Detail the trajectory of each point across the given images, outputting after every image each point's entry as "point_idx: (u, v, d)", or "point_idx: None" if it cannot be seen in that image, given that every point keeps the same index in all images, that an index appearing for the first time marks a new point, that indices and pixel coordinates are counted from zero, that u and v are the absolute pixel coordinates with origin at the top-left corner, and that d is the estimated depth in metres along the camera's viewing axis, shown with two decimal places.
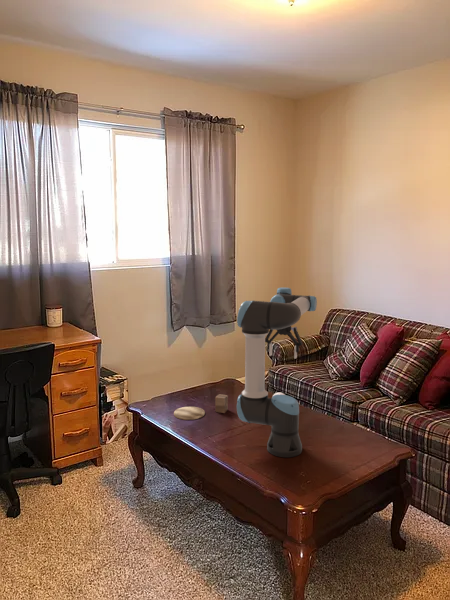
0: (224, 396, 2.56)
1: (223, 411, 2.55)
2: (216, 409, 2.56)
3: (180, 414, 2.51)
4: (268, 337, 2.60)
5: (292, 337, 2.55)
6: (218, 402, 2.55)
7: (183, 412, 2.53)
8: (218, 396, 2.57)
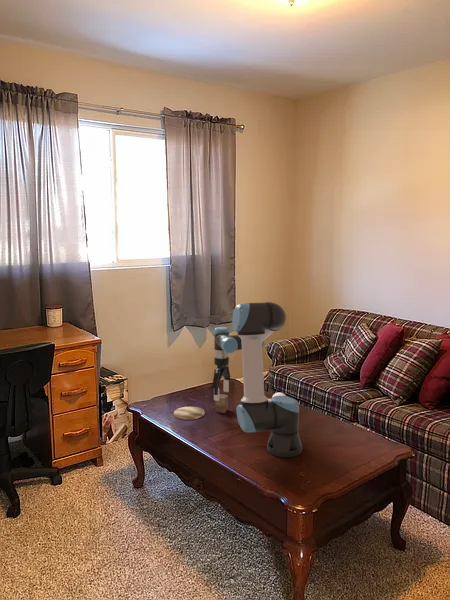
0: (224, 396, 2.56)
1: (223, 411, 2.55)
2: (216, 409, 2.56)
3: (180, 414, 2.51)
4: None
5: None
6: (218, 402, 2.55)
7: (183, 412, 2.53)
8: None
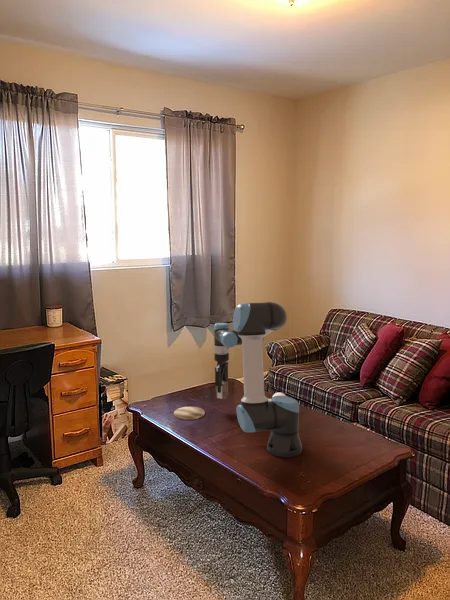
0: (224, 382, 2.55)
1: (223, 397, 2.53)
2: (216, 395, 2.55)
3: (180, 414, 2.51)
4: None
5: None
6: None
7: (183, 412, 2.53)
8: None
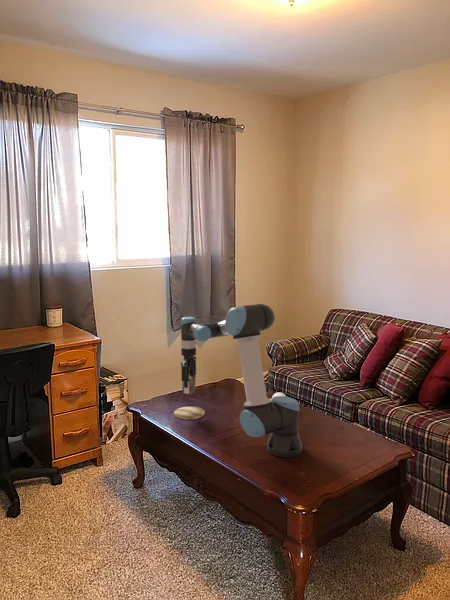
0: (191, 377, 2.50)
1: (190, 392, 2.49)
2: (183, 390, 2.50)
3: (180, 414, 2.51)
4: None
5: None
6: None
7: (183, 412, 2.53)
8: None
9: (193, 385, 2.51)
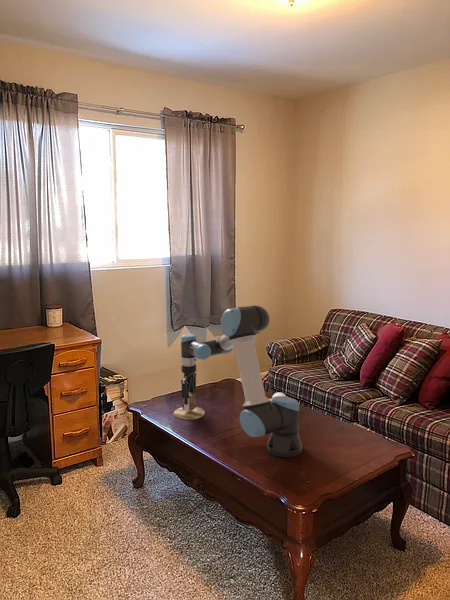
0: (191, 394, 2.52)
1: (190, 409, 2.50)
2: (183, 407, 2.52)
3: (180, 414, 2.51)
4: None
5: None
6: None
7: (183, 412, 2.53)
8: None
9: (193, 402, 2.52)
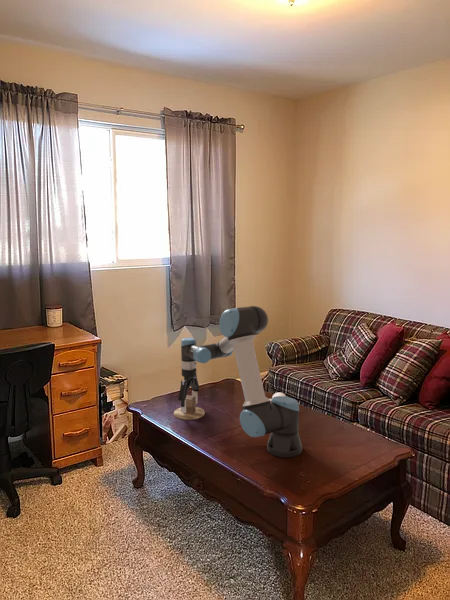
0: (191, 397, 2.52)
1: (190, 412, 2.51)
2: None
3: (180, 414, 2.51)
4: None
5: None
6: None
7: None
8: None
9: (193, 405, 2.52)
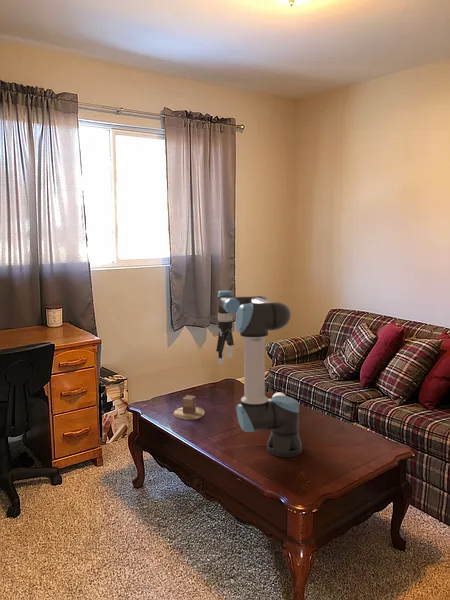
0: (191, 397, 2.52)
1: (190, 412, 2.51)
2: (183, 410, 2.52)
3: (180, 414, 2.51)
4: None
5: None
6: (185, 404, 2.51)
7: None
8: (185, 397, 2.52)
9: (193, 405, 2.52)
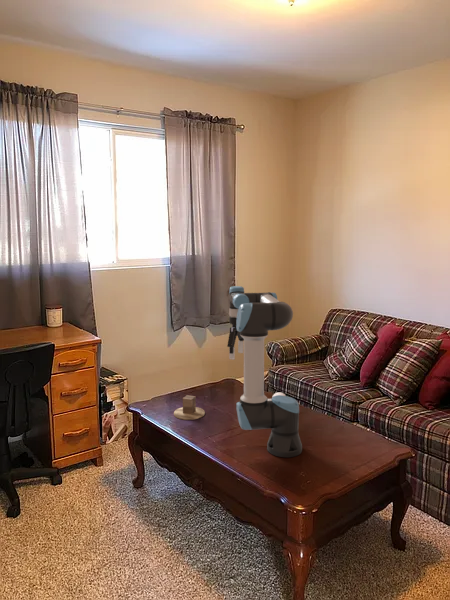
0: (191, 397, 2.52)
1: (190, 412, 2.51)
2: (183, 410, 2.52)
3: (180, 414, 2.51)
4: None
5: None
6: (185, 404, 2.51)
7: None
8: (185, 397, 2.52)
9: (193, 405, 2.52)
